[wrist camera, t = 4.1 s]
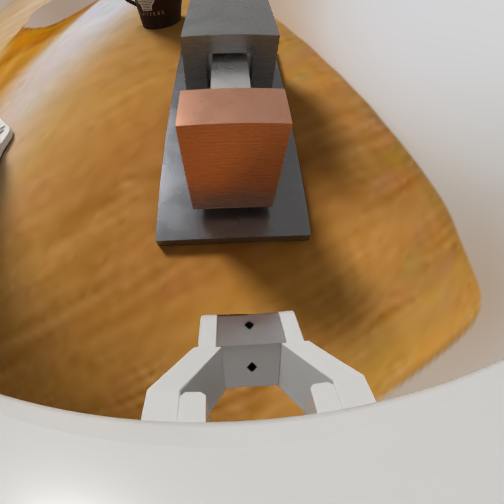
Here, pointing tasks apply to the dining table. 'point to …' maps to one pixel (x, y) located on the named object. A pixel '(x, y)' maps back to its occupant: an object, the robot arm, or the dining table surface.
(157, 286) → the dining table surface
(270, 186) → the shaft
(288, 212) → the housing
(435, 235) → the dining table surface
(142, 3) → the coffee mug
